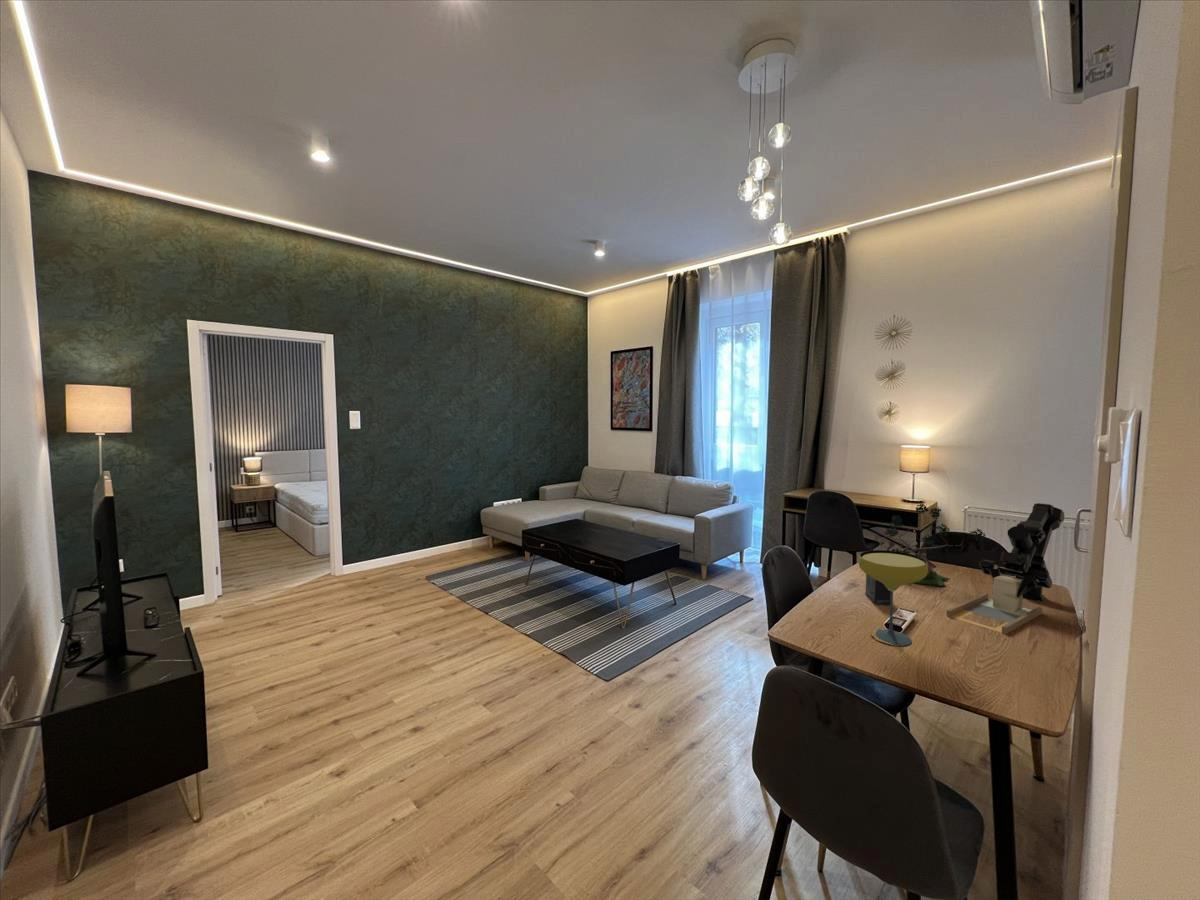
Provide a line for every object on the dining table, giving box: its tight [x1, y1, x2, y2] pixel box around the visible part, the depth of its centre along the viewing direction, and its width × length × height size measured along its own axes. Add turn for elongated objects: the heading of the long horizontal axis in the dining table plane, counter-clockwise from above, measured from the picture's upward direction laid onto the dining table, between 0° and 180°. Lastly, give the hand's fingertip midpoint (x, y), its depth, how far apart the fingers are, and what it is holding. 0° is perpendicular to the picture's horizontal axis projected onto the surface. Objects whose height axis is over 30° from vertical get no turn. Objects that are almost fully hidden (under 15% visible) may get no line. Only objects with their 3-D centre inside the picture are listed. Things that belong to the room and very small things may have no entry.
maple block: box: [992, 574, 1023, 613], centre depth 166 cm, size 6×6×10 cm
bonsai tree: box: [881, 503, 987, 588], centre depth 194 cm, size 35×24×32 cm
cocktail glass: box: [858, 549, 928, 647], centre depth 149 cm, size 18×18×25 cm
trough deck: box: [946, 592, 1043, 635], centre depth 161 cm, size 27×16×4 cm, turn 121°
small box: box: [864, 573, 891, 606], centre depth 180 cm, size 11×6×10 cm, turn 168°
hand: (1005, 593), depth 165 cm, fingers closed on maple block, 6 cm apart
